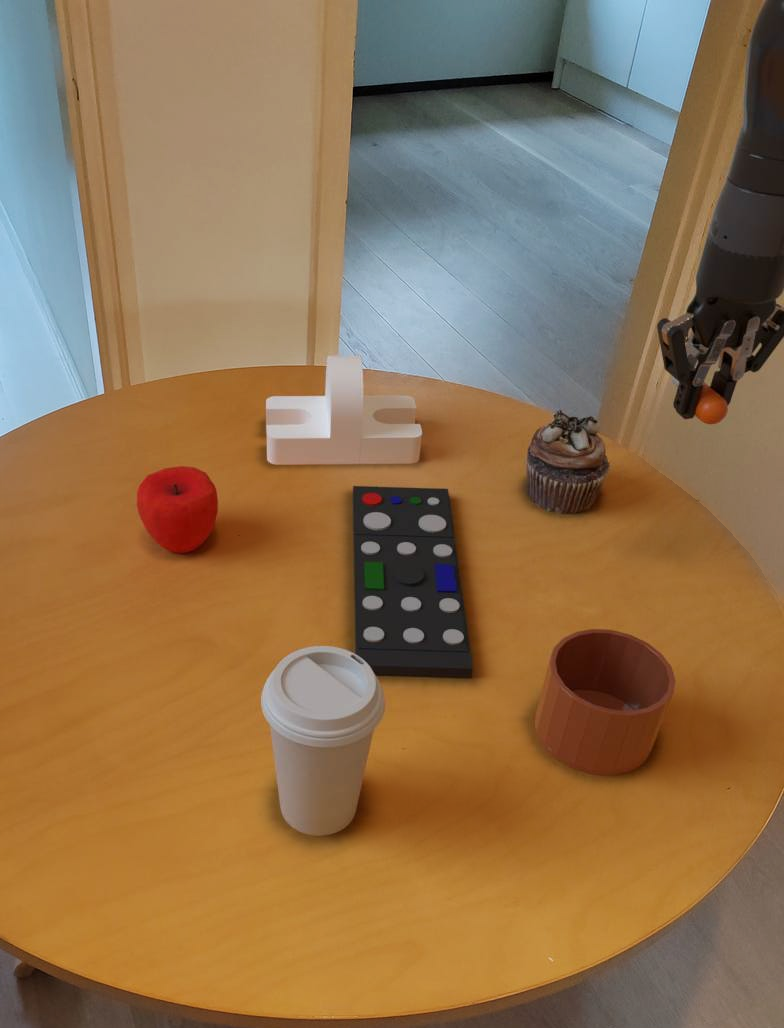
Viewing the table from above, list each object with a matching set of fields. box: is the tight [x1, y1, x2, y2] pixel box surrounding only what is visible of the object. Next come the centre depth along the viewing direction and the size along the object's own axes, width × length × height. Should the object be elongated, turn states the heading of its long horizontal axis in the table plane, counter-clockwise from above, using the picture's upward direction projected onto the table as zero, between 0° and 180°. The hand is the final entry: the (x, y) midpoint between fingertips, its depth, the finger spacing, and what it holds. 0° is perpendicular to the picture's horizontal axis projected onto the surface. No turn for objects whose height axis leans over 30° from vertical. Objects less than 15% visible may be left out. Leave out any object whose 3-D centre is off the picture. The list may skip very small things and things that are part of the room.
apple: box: [136, 465, 219, 554], centre depth 111 cm, size 9×9×8 cm
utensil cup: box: [534, 628, 676, 777], centre depth 91 cm, size 11×11×8 cm
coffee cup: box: [260, 645, 386, 837], centre depth 82 cm, size 10×10×15 cm
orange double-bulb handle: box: [671, 376, 729, 425], centre depth 100 cm, size 8×3×3 cm
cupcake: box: [525, 409, 611, 515], centre depth 119 cm, size 10×10×10 cm
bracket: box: [265, 354, 423, 466], centre depth 126 cm, size 19×10×11 cm, turn 93°
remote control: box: [352, 485, 474, 680], centre depth 109 cm, size 11×30×2 cm, turn 179°
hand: (699, 412), depth 100 cm, fingers closed on orange double-bulb handle, 2 cm apart
